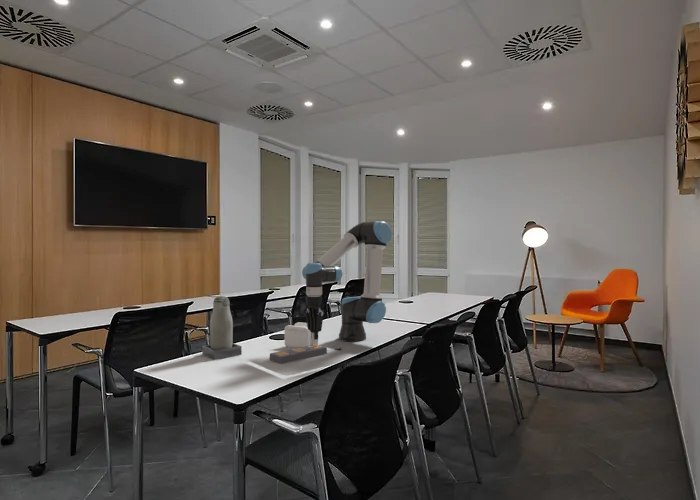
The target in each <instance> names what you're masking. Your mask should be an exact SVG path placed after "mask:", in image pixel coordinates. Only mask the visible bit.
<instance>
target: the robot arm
mask: <svg viewBox="0 0 700 500" xmlns="http://www.w3.org/2000/svg"><path fill="white" fill-rule="evenodd" d="M392 232H393V231H392V229H391V227H390V225H389V224H388V223H387V222H385V221H384V220H383V221H382V220H380V221H379V220H377V221H365V222H360V223H358V224H356V225H354V226H353V227H352V228H350V229H349V230H347V231H346V232H345V233H344V234H343V238H341V239H340V240H339V241H338V242H337V243H335V245H333V246H332V247H331V248H330V249H328V250H327V251H326V252H325V253H324V254H322V256H320V257H319V258H318V259H317V260H316V261H315V262H308V263H307V264H306V265H305V266H304V267H303V268H302V270H301V271H302V272H301V274H302V277H303V278H304V279H305V287H306V288H305V295H306V297H305V302H306V305H307V308H306V309H304V314H305V318H306V323H307V327H308V330H310V332H311V344H310V345H311V346H313V347H314V346H318V345H319V333H320V332H321V331H322V328H323V322H324V315H325V311H323V310H322V307H321V305H322V304H323V296H322V295H323V283H331V282H334V283H335V282H339V281H340V280H341V279H342V277H343V271H342V268H341V267H340V266H338V265H337V266H336V265H335V264H337V262H339V261H340V260H341V259H342V258H343V257H344V256H346V255H347V254H348V253H349V252H350V251H351V250H352V249H354V248H355V249H356V248H357V247H358V246H360V245H362V244H364V247H365V248H366V259H365V261H366V262H365V272H364V284H363V286H364V287H363V293H362V294H361V295H360V296H359V295H358V296H351V297H343V298H342V299H341V305H340V306H341V309H340V310H341V327H340V330H339V333H338V340H340V341H344V342H361V341H365V340H366V339H367V333H366V331H365V327H364V323H368V324H379V323H381V322H382V320H383V319H384V318H385V316H386V312H387V307H386V304H385V302H383V297H382V296H381V283H382V281H381V280H382V268H383V254H384V250H385V249H386V248H387V244H388V243H389V242H391V241H390V240H392V234H393V233H392ZM363 322H364V323H363Z"/></svg>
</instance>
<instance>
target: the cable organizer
mask: <svg viewBox="0 0 700 500" xmlns="http://www.w3.org/2000/svg"><path fill="white" fill-rule="evenodd" d="M284 345H285V347H287V348H288V347H293V348H300V347H305V346H310V345H311V332H310V330H308V327H307V322H296V323H294V325H291V324H288V325H286V326H285V327H284Z"/></svg>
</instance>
